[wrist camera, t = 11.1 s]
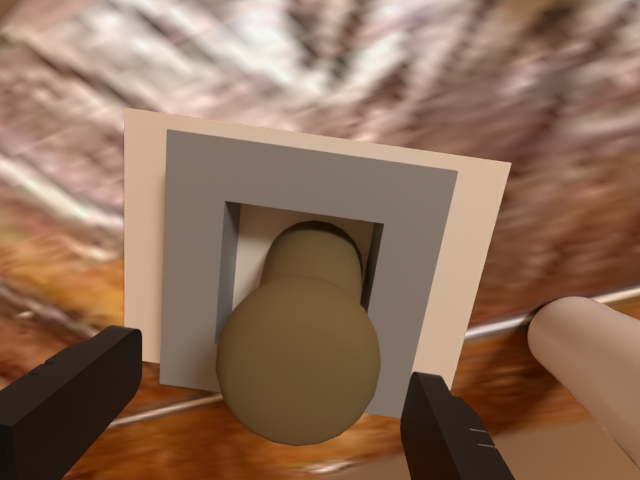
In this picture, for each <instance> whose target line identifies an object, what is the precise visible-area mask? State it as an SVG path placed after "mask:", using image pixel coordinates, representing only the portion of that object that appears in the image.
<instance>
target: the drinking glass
mask: <svg viewBox="0 0 640 480" xmlns="http://www.w3.org/2000/svg"><path fill="white" fill-rule="evenodd" d="M527 341H528V346H529V349H530V351H531V353H532V355H533V356H534V357H535V359H536V360H537V361H538V362H539V363H540V364H541V365H542V366H543V367H544V368H545V369H546V370H547V371H549V372H550V373H551V374H552V375H553V376H554V377H555V378H556V379H557V380H558V381H559V382H560V383H561V384H562V385H563V386H564V388H565V389H566V390H567V391H568V392H569V393H570V394H571V395H572V396H573V397H574V398H575V399H576V400H577V401H578V403H579V404H580V405H581V406H582V407H583V408H584V409H585V410H586V411H587V412H588V413H589V414H590V416H591V417H592V418H593V419H594V420H595V421H596V422H597V423H598V424H599V425H600V426H601V427H602V429H603V430H604V431H605V432H606V433H607V434H608V435H609V436H610V437H611V438H612V439H613V441H614V442H615V443H616V444H617V445H618V446H619V447H620V448H621V449H622V450H623V451H624V453H625V454H626V455H627V456H628V457H629V458H630V459H631V460H632V461H633V462H634V463H635V465H636V466H637V467H638V468H639V469H640V320H638V319H636V318H633V317H631V316H628V315H626V314H623V313H621V312H618V311H616V310H614V309H612V308H610V307H608V306H606V305H604V304H602V303H599V302H597V301H595V300H592V299H589V298H585V297H577V296H572V297H564V298H560V299H557V300H554V301H552V302H550V303H548V304H547V305H545V306H544V307H543V308H541V309H540V310H539V311H538V312H537V313H536V315H535V316H534V317H533V319H532V321H531V323H530V325H529V328H528V333H527Z"/></svg>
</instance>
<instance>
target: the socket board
mask: <svg viewBox="0 0 640 480" xmlns="http://www.w3.org/2000/svg"><path fill="white" fill-rule="evenodd" d="M510 166H511V163H508V162H501V161H494V160H487V159H480V158H473V157H466V156H459V155H452V154H445V153H438V152H431V151H424V150H417V149H410V148H403V147H396V146H389V145H382V144H375V143H368V142H361V141H354V140H347V139H340V138H333V137H326V136H319V135H312V134H305V133H298V132H291V131H285V130H278V129H271V128H264V127H257V126H250V125H243V124H236V123H229V122H222V121H215V120H208V119H201V118H194V117H187V116H180V115H173V114H166V113H159V112H152V111H145V110H138V109H131V108H124V327H129V328H136V329H139V330H141V332H142V361H147V362H154V363H160V383H159V384H165V385H172V386H179V387H186V388H193V389H200V390H207V391H214V392H221V390H220V386H219V382H218V379H217V375H216V371H215V368H216V357H217V347H218V342H219V337H220V334H221V332H222V330H223V328H224V326H225V324H226V322H227V320H228V318H229V316H230V314H231V313H232V311H233V310H234V309H235V307H236V306H237V305H238V304H239V303H240V302H241V301H242V300H244V299H245V298H246V297H247V296H248V295H249V294H250V293H251V292H252V291H253V290H255V289H257V288H259V284H260V280H261V276H262V272H263V268H264V264H265V260H266V256H267V253H268V251H269V249H270V247H271V245H272V242H273V240H274V239H275V238H276V237H277V236H278V235H279V234H280V233H281V232H282V231H283V230H284V229H286V228H288V227H290V226H292V225H294V224H296V223H299V222H305V221H312V220H315V221H321V222H328V223H331V224H333V225H335V226H337V227H339V228H341V229H343V230H344V231H345V232H346V233H347V234H348V235H349V236H350V237H351V238H352V239H353V240H354V241H355V243H356V245H357V247H358V249H359V251H360V253H361V258H362V266H363V275H362V287H361V299H360V305H361V306H362V307H363V308H364V309H365V311H366V313H367V315H368V317H369V319H370V321H371V323H372V324H373V326H374V328H375V331H376V334H377V337H378V342H379V350H380V357H381V367H380V374H379V378H378V383H377V387H376V391H375V396H374V397H373V399H372V400H371V402H370V403H369V405H368V406H367V408H366V410H365V411H364V413H368V414H375V415H382V416H389V417H396V418H401V415H402V411H403V407H404V402H405V398H406V394H407V390H408V385H409V381H410V377H411V375H412V373H413V372H414V371H415V372H422V373H429V374H435V375H440V376H442V377H443V379H444V381H445V383H446V385H447V387H448V389H449V390H450V389H451V386H452V382H453V378H454V375H455V371H456V367H457V363H458V360H459V356H460V352H461V348H462V345H463V341H464V337H465V334H466V330H467V326H468V322H469V319H470V315H471V311H472V308H473V304H474V300H475V296H476V293H477V289H478V285H479V281H480V278H481V274H482V270H483V267H484V263H485V259H486V255H487V252H488V248H489V244H490V241H491V237H492V233H493V229H494V226H495V222H496V218H497V214H498V211H499V207H500V203H501V200H502V196H503V192H504V188H505V185H506V181H507V177H508V174H509V170H510Z"/></svg>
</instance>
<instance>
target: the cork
mask: <svg viewBox="0 0 640 480" xmlns="http://www.w3.org/2000/svg"><path fill="white" fill-rule="evenodd" d="M362 275H363V266H362V258H361V253H360V251H359V249H358V247H357V245H356V243H355V241H354V240H353V239H352V238H351V237H350V236H349V235H348V234H347V233H346V232H345V231H344V230H343V229H341V228H339V227H337V226H335V225H333V224H331V223H328V222H321V221H315V220H312V221H305V222H299V223H296V224H294V225H292V226H290V227H288V228H286V229H284V230H283V231H282V232H281V233H280V234H279V235H278V236H277V237H276V238H275V239H274V240H273V242H272V245H271V247H270V249H269V251H268V253H267V256H266V260H265V264H264V268H263V272H262V276H261V280H260V284H259V288H257V289H255V290H253V291H252V292H251V293H250V294H249V295H248V296H247V297H246V298H245V299H244V300H242V301H241V302H240V303H239V304H238V305H237V306H236V307H235V309H234V310H233V311H232V313H231V314H230V316H229V318H228V320H227V322H226V324H225V326H224V328H223V330H222V332H221V334H220V337H219V342H218V347H217V357H216V368H215V371H216V375H217V379H218V382H219V386H220V390H221V393H222V396H223V399H224V401H225V403H226V404H227V406H228V407H229V409H230V411H231V412H232V414H233V415H234V417H235V418H236V419H237V420H238V421H239V422H240V423H241V424H243V425H244V426H245V427H246V428H247V429H249V430H250V431H251V432H252V433H254V434H256V435H258V436H260V437H263V438H265V439H267V440H269V441H272V442H274V443H280V444H287V445H293V446H301V445H311V444H319V443H322V442H324V441H327V440H329V439H332V438H334V437H337V436H339V435H341V434H342V433H343V432H344V431H346V430H347V429H348V428H349V427H351V426H352V425H353V424H354V423H356V422H357V421H358V419H359V418H360V417H361V416H362V414H363V413H364V411H365V410H366V408H367V406H368V405H369V403H370V402H371V400H372V399H373V397H374V396H375V391H376V387H377V383H378V378H379V374H380V367H381V357H380V350H379V342H378V337H377V334H376V331H375V328H374V326H373V324H372V323H371V321H370V319H369V317H368V315H367V313H366V311H365V309H364V308H363V307H362V306H361V305H360V299H361V287H362Z"/></svg>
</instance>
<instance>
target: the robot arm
mask: <svg viewBox="0 0 640 480" xmlns="http://www.w3.org/2000/svg"><path fill="white" fill-rule="evenodd" d="M141 378H142V332H141V330H139V329H136V328H129V327H122V326H116V325H111V326H109V327H107V328H105V329H104V330H103V331H101V332H100V333H98V334H97V335H95V336H94V337H92V338H91V339H90V340H85V341H82V342H80V343H77V344H75V345H72V346H70V347H67V348H65V349H63V350H61V351H60V352H58V353H57V354H55V355H54V356H52V357H51V358H49V359H48V360H46V361H45V363H44V364H40V365H39V366H37V367H36V368H34V369H33V370H31V371H30V372H28V375H24V376H22V377H21V378H19V379H17V380H16V381H14V382H13V383H11V384H10V385H8V386H7V387H5V388H4V389H2V390H1V391H0V480H61V479H62V478H63V477H64V475H65V474H66V473H67V472H68V471H69V470H70V469H71V468H72V466H73V465H74V464H75V463H76V462H77V461H78V460H79V458H80V457H81V456H82V455H83V454H84V453H85V452H86V451H87V449H88V448H89V447H90V446H91V445H92V444H93V443H94V441H95V440H96V439H97V438H98V437H99V436H100V435H101V434H102V432H103V431H104V430H105V429H106V428H107V427H108V426H109V425H110V423H111V422H112V421H113V420H114V419H115V418H116V417H117V415H118V414H119V413H120V412H121V411H122V410H123V409H124V408H125V406H126V405H127V404H128V403H129V402H130V401H131V400H132V398H133V397H134V396H135V394H136V392H137V390H138V388H139V385H140V382H141ZM400 431H401V440H402V444H403V448H404V452H405V456H406V460H407V464H408V468H409V472H410V476H411V480H515V478H514V477H513V475H512V473H511V472H510V470H509V468H508V466H507V465H506V463H505V461H504V460H503V458H502V456H501V455H500V453H499V451H498V450H497V449H495V444H494V443H493V441H492V439H491V438H490V436H489V434H488V433H486V429H485V427H484V426H483V424H482V422H481V421H480V419H479V417H478V416H477V414H476V412H475V411H474V410H473V409H472V408H470V407H469V406H468V405H467V404H466V403H465V402H464V401H463V400H462V399H461V398H460V397H455V396H452V394H451V392H450V390H449V389H448V387H447V385H446V383H445V381H444V379H443V377H442V376H440V375H435V374H429V373H422V372H415V371H414V372H413V373H412V375H411V377H410V381H409V385H408V390H407V394H406V398H405V402H404V407H403V411H402V415H401V424H400Z"/></svg>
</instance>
